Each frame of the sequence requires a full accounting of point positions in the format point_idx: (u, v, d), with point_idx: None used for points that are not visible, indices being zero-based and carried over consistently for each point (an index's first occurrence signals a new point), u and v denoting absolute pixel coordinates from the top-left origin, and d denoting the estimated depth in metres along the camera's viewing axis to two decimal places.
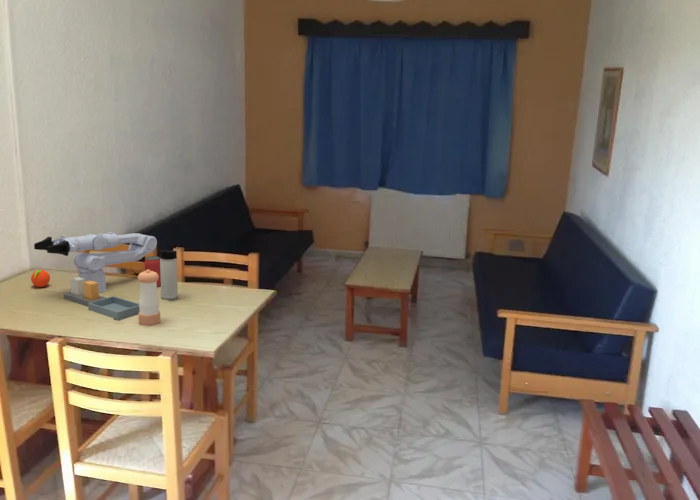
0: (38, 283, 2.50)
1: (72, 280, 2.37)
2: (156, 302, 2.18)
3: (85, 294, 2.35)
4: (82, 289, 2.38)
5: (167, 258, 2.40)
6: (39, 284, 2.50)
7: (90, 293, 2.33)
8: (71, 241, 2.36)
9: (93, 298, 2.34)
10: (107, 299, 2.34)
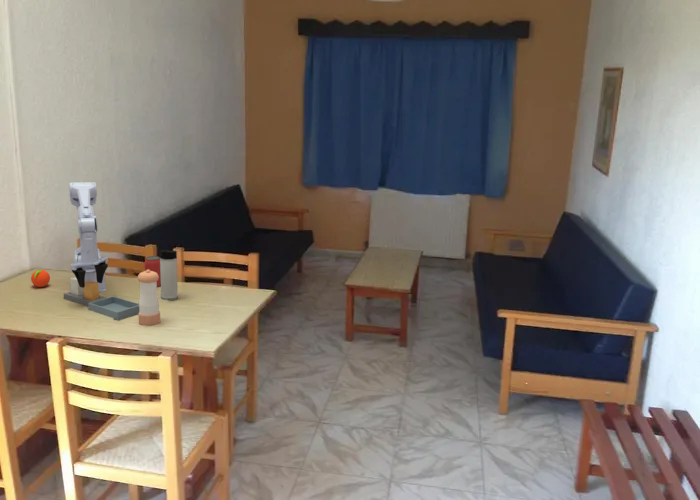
0: (38, 283, 2.50)
1: (72, 280, 2.37)
2: (156, 302, 2.18)
3: (85, 294, 2.35)
4: (82, 289, 2.38)
5: (167, 258, 2.40)
6: (39, 284, 2.50)
7: (90, 293, 2.33)
8: (97, 256, 2.33)
9: (93, 298, 2.34)
10: (107, 299, 2.34)
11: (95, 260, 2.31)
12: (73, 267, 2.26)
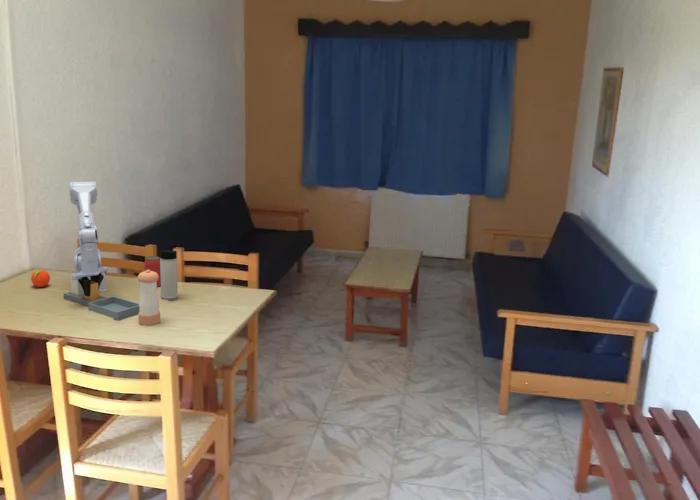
0: (38, 283, 2.50)
1: (72, 280, 2.37)
2: (156, 302, 2.18)
3: None
4: (82, 289, 2.38)
5: (167, 258, 2.40)
6: (39, 284, 2.50)
7: (90, 293, 2.33)
8: (98, 266, 2.34)
9: (93, 298, 2.34)
10: (107, 299, 2.34)
11: (96, 270, 2.32)
12: (74, 277, 2.27)
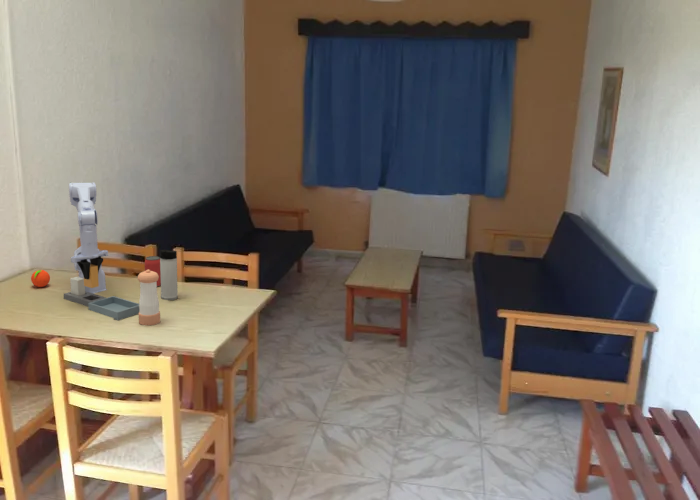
0: (38, 283, 2.50)
1: (72, 280, 2.37)
2: (156, 302, 2.18)
3: None
4: (82, 289, 2.38)
5: (167, 258, 2.40)
6: (39, 284, 2.50)
7: (90, 275, 2.31)
8: (97, 249, 2.32)
9: (93, 281, 2.32)
10: (107, 299, 2.34)
11: (95, 253, 2.30)
12: (73, 260, 2.25)
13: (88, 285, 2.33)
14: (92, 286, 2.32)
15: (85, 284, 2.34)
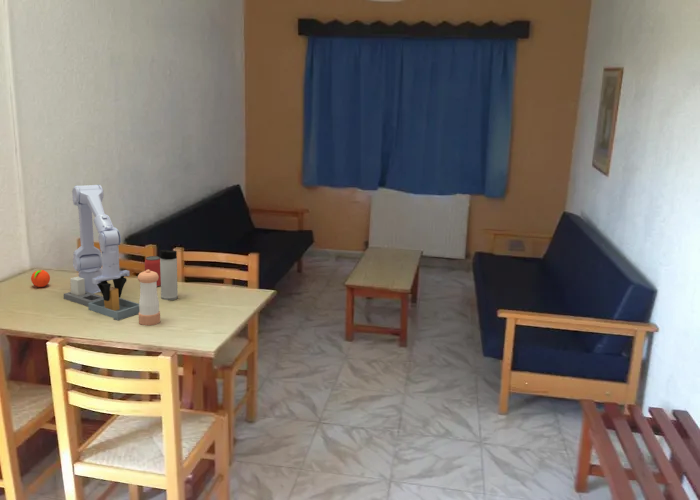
0: (38, 283, 2.50)
1: (72, 280, 2.37)
2: (156, 302, 2.18)
3: None
4: (82, 289, 2.38)
5: (167, 258, 2.40)
6: (39, 284, 2.50)
7: (111, 299, 2.27)
8: None
9: (113, 304, 2.28)
10: None
11: (117, 274, 2.26)
12: (95, 281, 2.21)
13: (109, 308, 2.29)
14: (113, 309, 2.28)
15: (106, 307, 2.30)
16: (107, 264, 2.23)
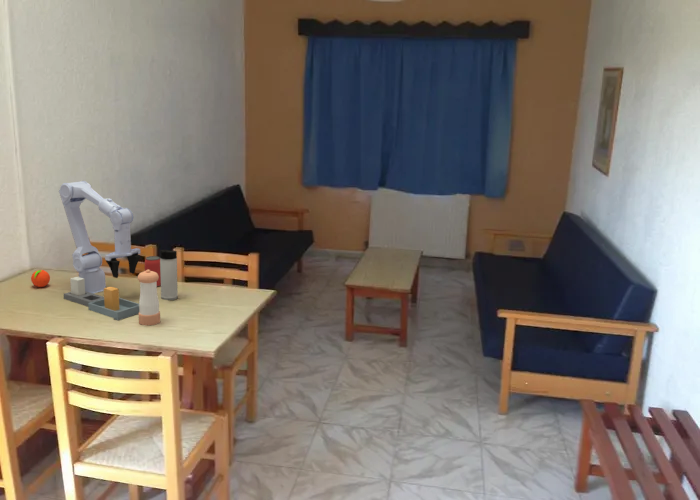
0: (38, 283, 2.50)
1: (72, 280, 2.37)
2: (156, 302, 2.18)
3: (105, 300, 2.29)
4: (82, 289, 2.38)
5: (167, 258, 2.40)
6: (39, 284, 2.50)
7: (111, 299, 2.27)
8: (130, 247, 2.37)
9: (114, 304, 2.28)
10: None
11: (128, 251, 2.36)
12: (107, 257, 2.31)
13: (109, 308, 2.29)
14: (113, 309, 2.28)
15: (106, 307, 2.30)
16: (119, 241, 2.33)
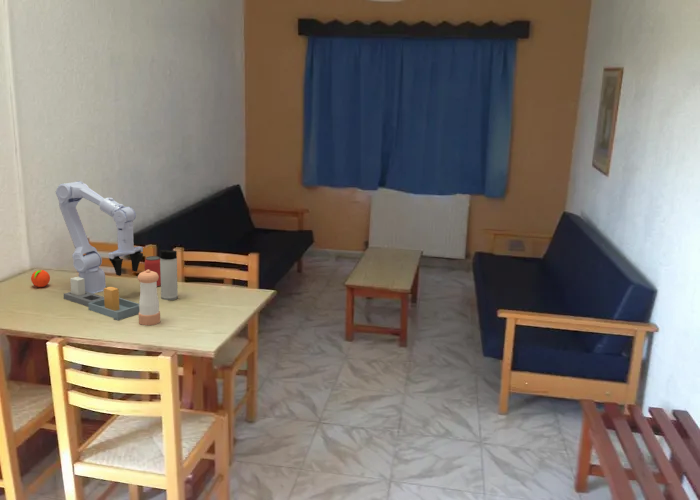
0: (38, 283, 2.50)
1: (72, 280, 2.37)
2: (156, 302, 2.18)
3: (105, 300, 2.29)
4: (82, 289, 2.38)
5: (167, 258, 2.40)
6: (39, 284, 2.50)
7: (111, 299, 2.27)
8: (133, 245, 2.40)
9: (114, 304, 2.28)
10: None
11: (131, 249, 2.38)
12: (111, 256, 2.33)
13: (109, 308, 2.29)
14: (113, 309, 2.28)
15: (106, 307, 2.30)
16: (122, 240, 2.36)
